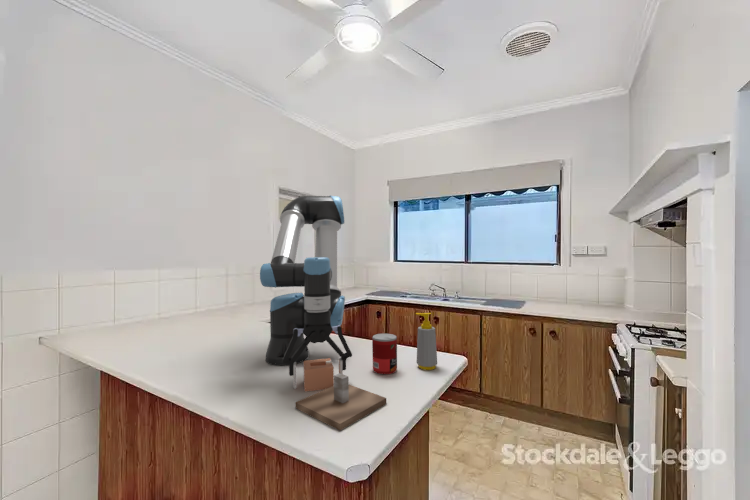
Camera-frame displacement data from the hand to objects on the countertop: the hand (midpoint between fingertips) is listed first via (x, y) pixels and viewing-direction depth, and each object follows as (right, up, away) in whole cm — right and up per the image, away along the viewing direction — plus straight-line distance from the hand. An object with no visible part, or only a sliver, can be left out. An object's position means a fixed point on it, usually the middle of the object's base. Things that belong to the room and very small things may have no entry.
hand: (318, 383), depth 95 cm
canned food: (+20, 0, +11) cm, 23 cm away
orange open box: (0, 0, 0) cm, 0 cm away
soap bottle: (+34, 0, +13) cm, 36 cm away
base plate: (+8, 0, -13) cm, 16 cm away
